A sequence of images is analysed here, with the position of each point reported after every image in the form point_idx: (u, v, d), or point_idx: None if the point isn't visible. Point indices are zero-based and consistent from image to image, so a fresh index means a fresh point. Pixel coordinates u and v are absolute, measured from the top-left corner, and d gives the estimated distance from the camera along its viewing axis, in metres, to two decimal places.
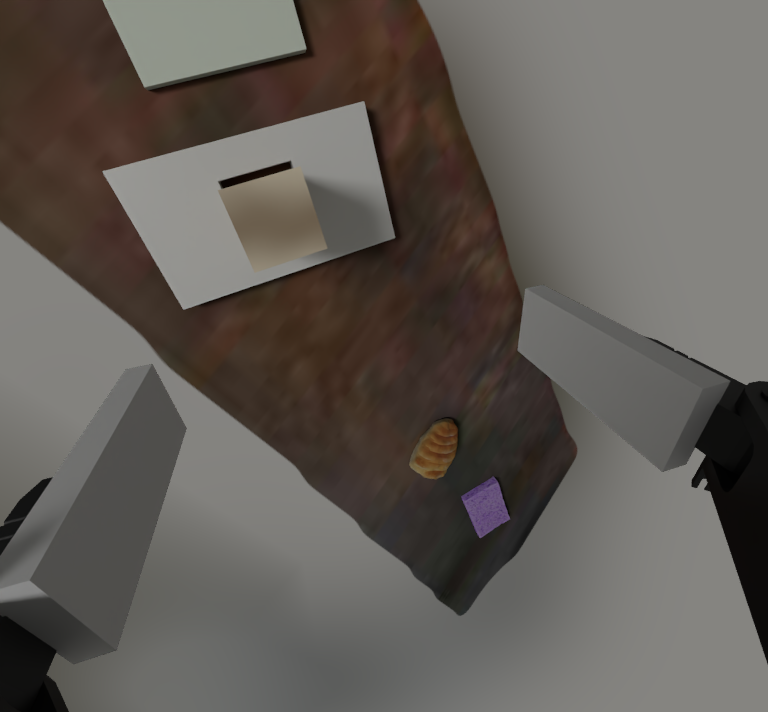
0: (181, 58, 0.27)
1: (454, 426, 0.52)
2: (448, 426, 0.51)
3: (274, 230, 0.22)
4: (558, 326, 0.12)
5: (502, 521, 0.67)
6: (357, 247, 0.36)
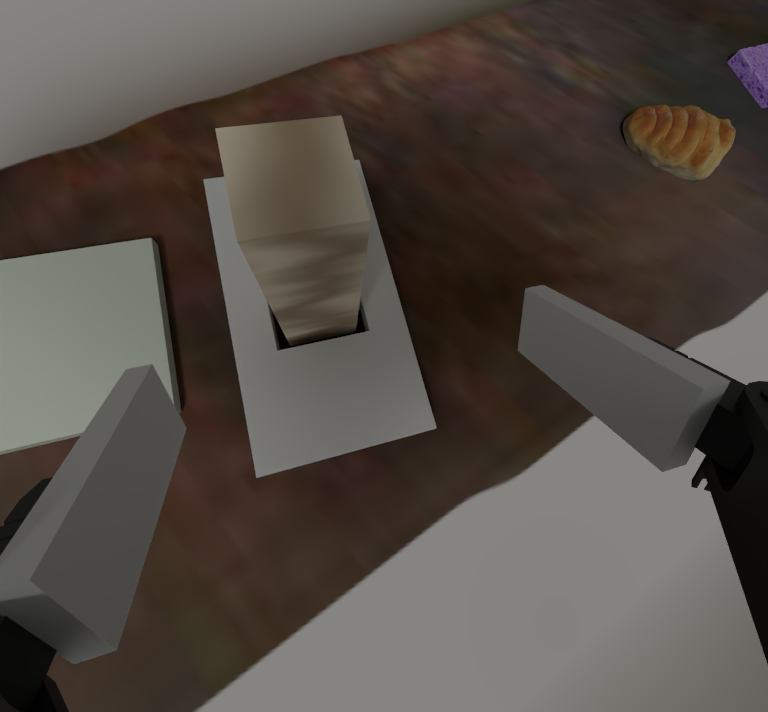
0: None
1: (638, 110, 0.34)
2: (637, 118, 0.34)
3: (305, 180, 0.14)
4: (558, 326, 0.12)
5: None
6: (368, 204, 0.28)
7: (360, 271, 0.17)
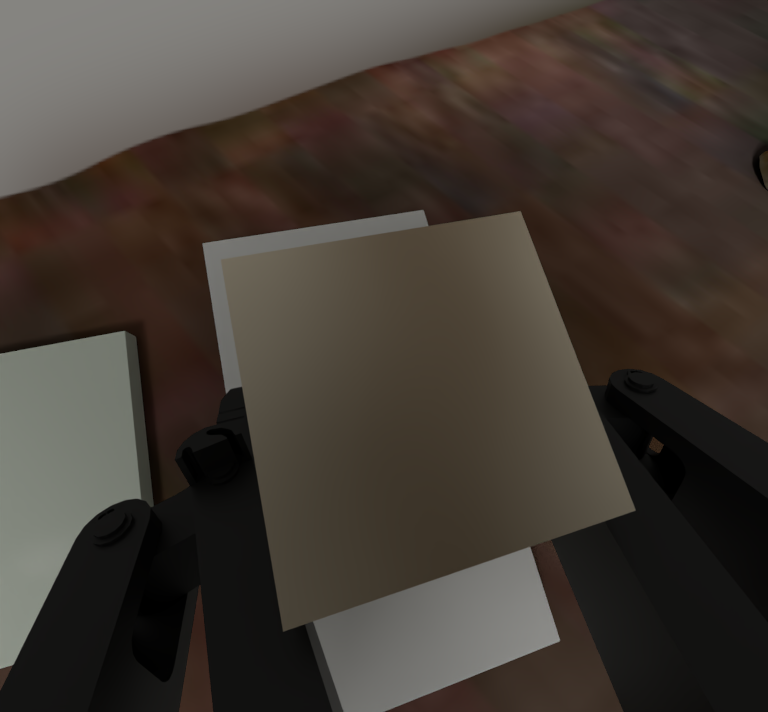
0: None
1: None
2: None
3: (457, 398, 0.05)
4: None
5: None
6: None
7: None
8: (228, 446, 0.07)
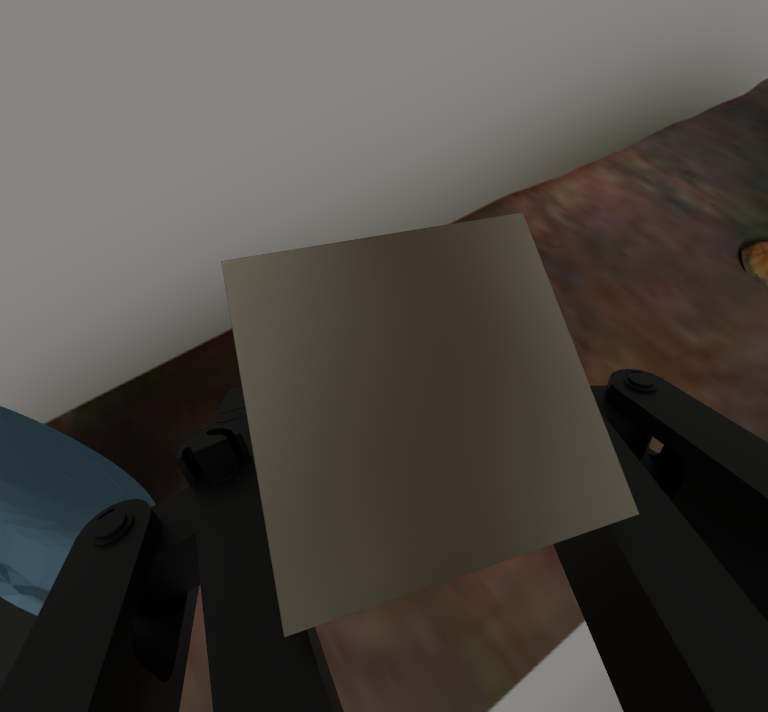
0: None
1: (756, 246, 0.42)
2: (757, 253, 0.41)
3: (460, 400, 0.05)
4: None
5: None
6: None
7: None
8: (228, 446, 0.07)
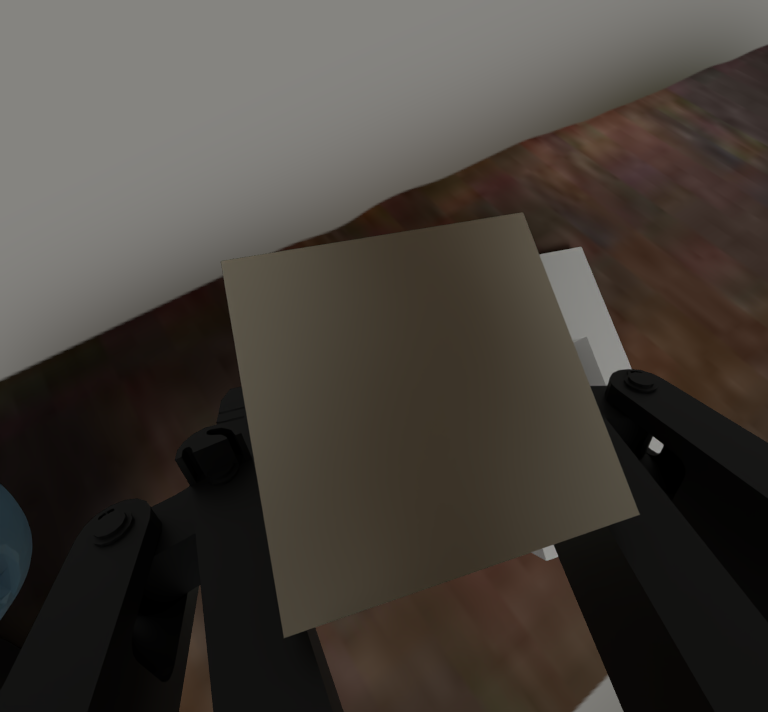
0: None
1: None
2: None
3: (459, 400, 0.05)
4: None
5: None
6: (596, 290, 0.30)
7: None
8: (228, 446, 0.07)
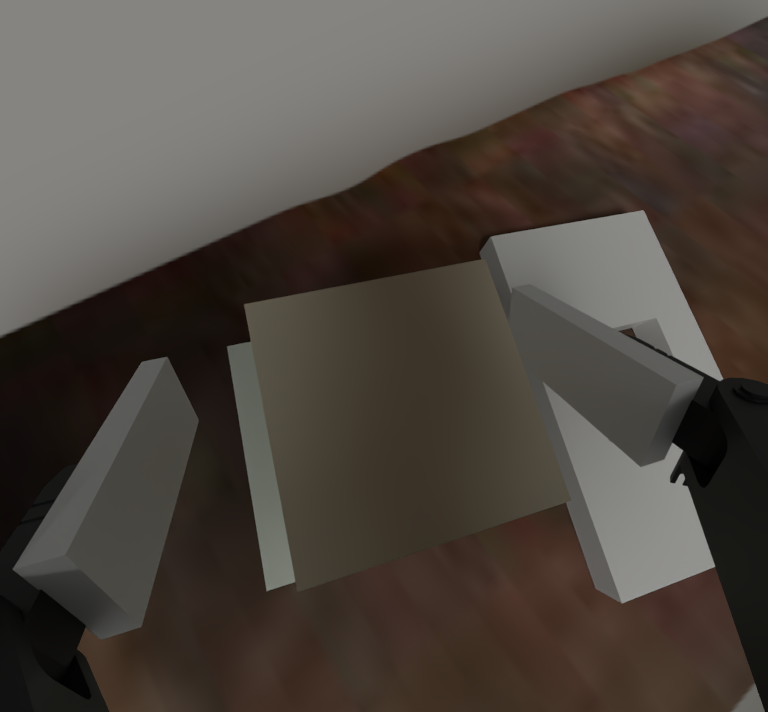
0: None
1: None
2: None
3: (431, 413, 0.07)
4: (543, 324, 0.12)
5: None
6: (664, 262, 0.24)
7: None
8: None
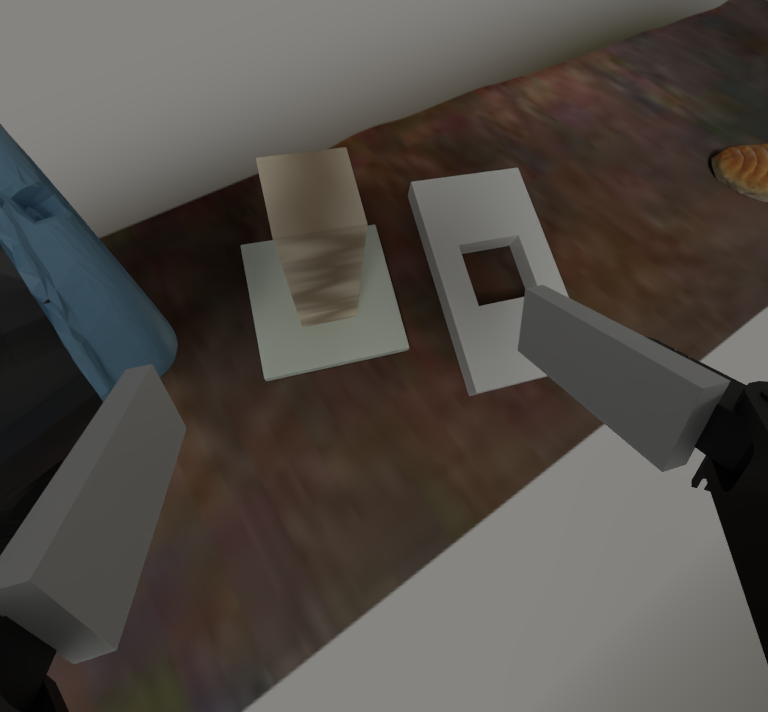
0: (388, 316, 0.33)
1: (725, 151, 0.42)
2: (726, 158, 0.42)
3: (320, 194, 0.19)
4: (558, 325, 0.12)
5: None
6: (528, 201, 0.37)
7: (360, 262, 0.23)
8: None
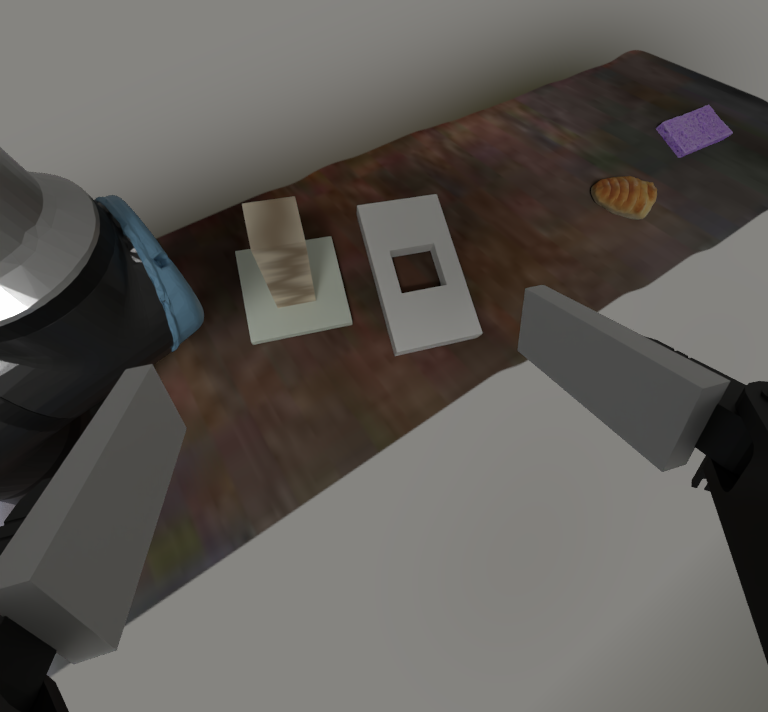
0: (338, 300, 0.47)
1: (599, 182, 0.56)
2: (599, 187, 0.56)
3: (278, 224, 0.33)
4: (558, 325, 0.12)
5: (711, 112, 0.64)
6: (442, 218, 0.51)
7: (307, 263, 0.37)
8: None
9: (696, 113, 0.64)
